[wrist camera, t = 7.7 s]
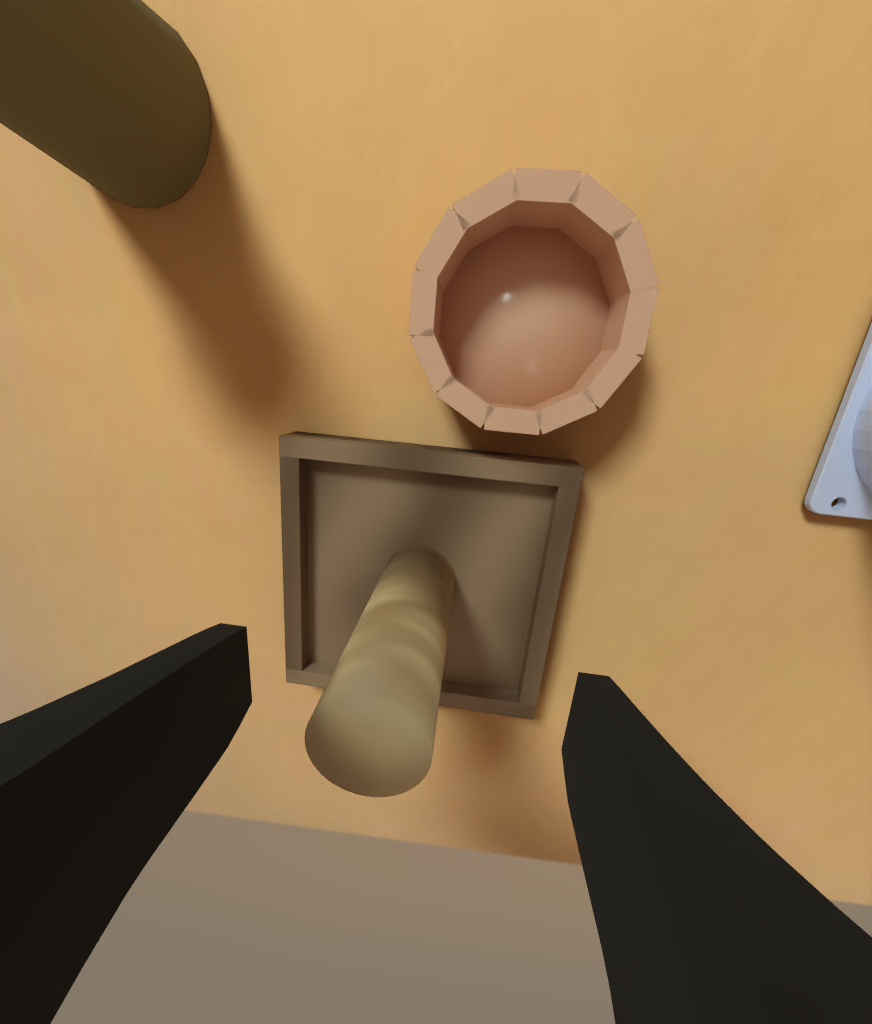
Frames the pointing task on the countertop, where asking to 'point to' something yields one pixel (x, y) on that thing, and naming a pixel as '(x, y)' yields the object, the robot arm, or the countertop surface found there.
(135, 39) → the olive green pawn
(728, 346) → the countertop surface
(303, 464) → the walnut tray
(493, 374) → the pink round piece
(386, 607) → the dowel pin
